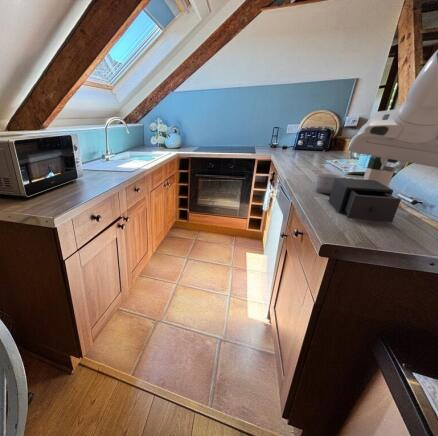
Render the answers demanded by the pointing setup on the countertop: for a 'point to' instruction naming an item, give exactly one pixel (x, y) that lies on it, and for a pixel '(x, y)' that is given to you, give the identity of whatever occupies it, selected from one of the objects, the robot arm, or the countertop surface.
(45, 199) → the countertop surface
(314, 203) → the countertop surface
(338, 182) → the dark grey drawer box
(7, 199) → the countertop surface
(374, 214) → the drawer
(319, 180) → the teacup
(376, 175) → the wine bottle
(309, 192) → the countertop surface
